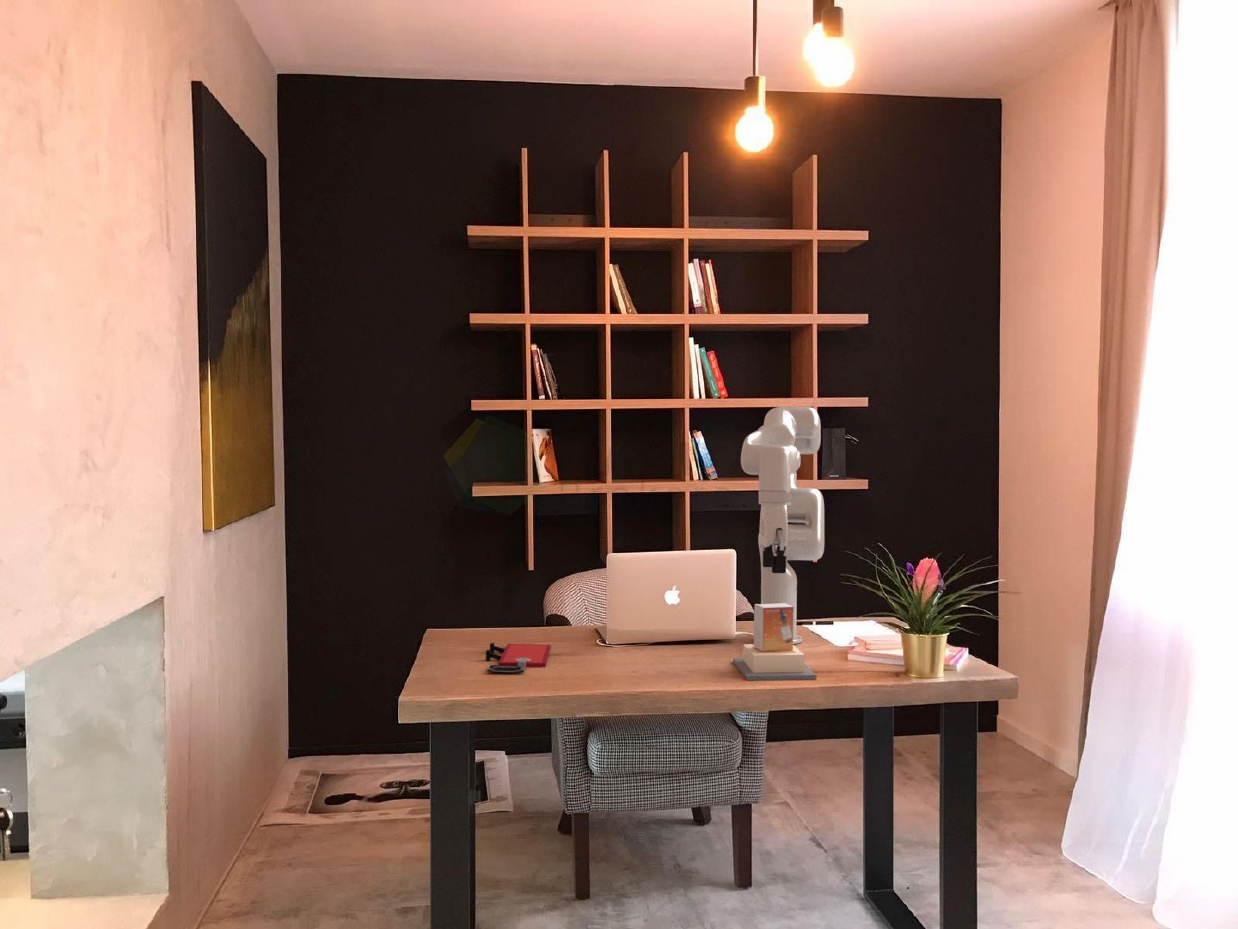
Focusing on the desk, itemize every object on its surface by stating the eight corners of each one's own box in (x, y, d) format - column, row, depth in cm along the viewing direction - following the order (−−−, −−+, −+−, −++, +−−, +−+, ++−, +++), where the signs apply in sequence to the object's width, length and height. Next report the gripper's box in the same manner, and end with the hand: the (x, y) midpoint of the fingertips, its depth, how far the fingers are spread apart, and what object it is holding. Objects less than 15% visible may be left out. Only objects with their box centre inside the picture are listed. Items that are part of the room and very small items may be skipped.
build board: (732, 662, 248) (733, 641, 248) (796, 661, 250) (797, 640, 249) (747, 680, 230) (747, 658, 230) (816, 679, 232) (816, 657, 231)
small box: (761, 652, 236) (762, 607, 236) (753, 647, 242) (753, 603, 241) (793, 650, 238) (794, 606, 238) (784, 645, 244) (784, 602, 243)
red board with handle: (478, 675, 235) (543, 676, 235) (479, 663, 235) (543, 664, 235) (493, 649, 265) (550, 650, 265) (493, 638, 265) (550, 639, 265)
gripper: (751, 495, 247) (751, 565, 248) (767, 500, 230) (766, 575, 230) (781, 495, 247) (781, 564, 248) (799, 500, 230) (798, 575, 231)
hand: (774, 570), depth 239 cm, fingers open, 9 cm apart
